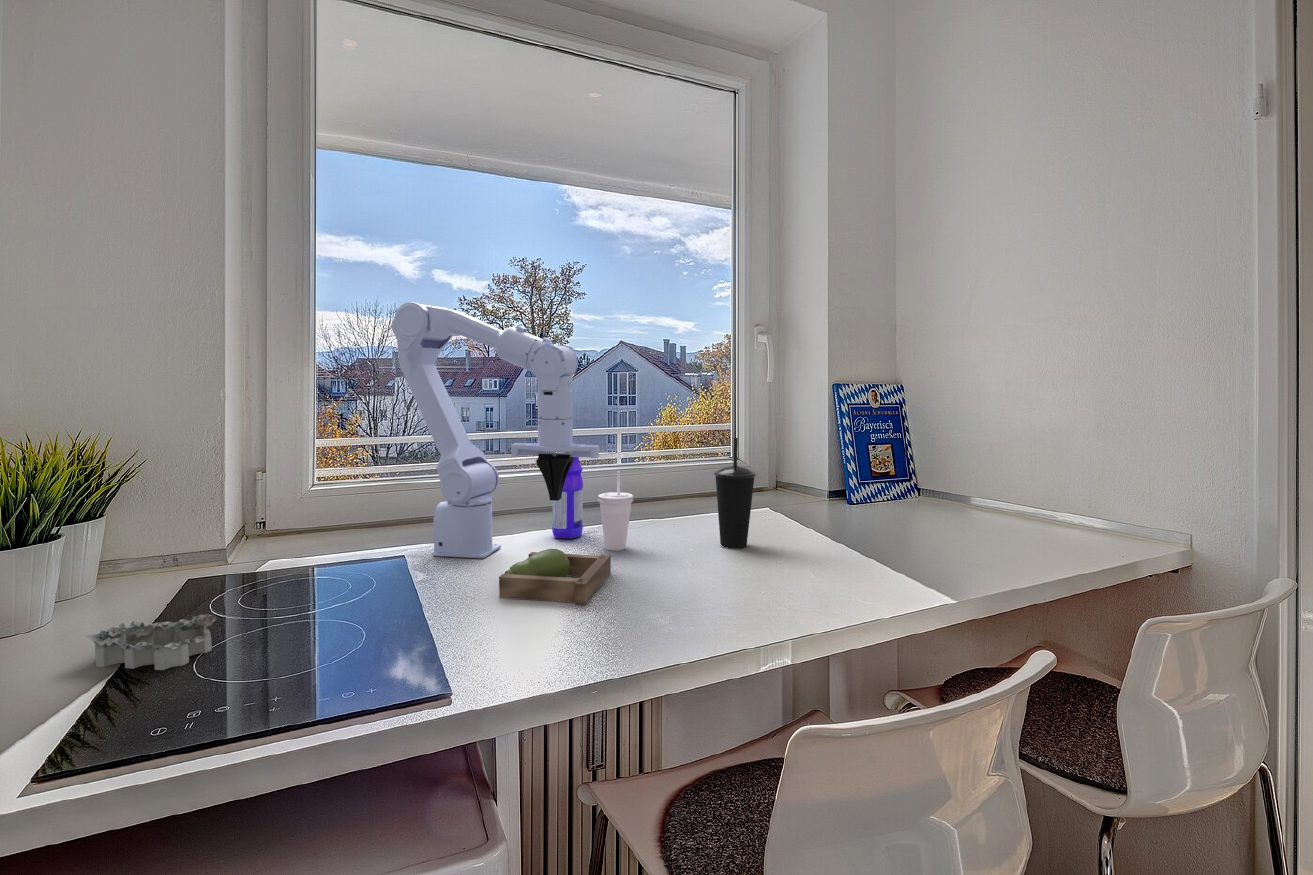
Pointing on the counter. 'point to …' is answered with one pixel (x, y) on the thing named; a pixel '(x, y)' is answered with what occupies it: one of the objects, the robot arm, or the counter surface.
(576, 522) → the bottle
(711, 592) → the counter surface
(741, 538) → the drinking cup
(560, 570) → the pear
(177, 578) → the counter surface
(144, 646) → the egg carton
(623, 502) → the smoothie
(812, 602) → the counter surface
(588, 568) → the walnut frame
